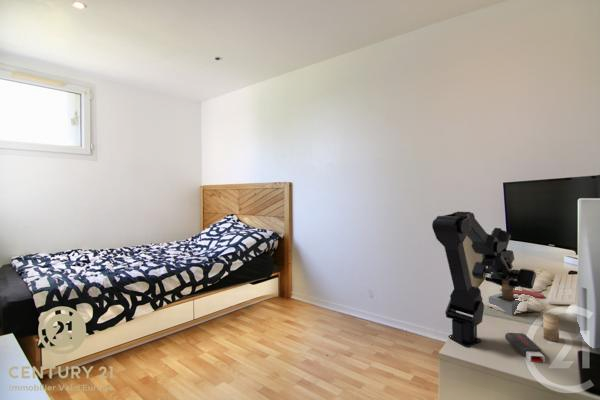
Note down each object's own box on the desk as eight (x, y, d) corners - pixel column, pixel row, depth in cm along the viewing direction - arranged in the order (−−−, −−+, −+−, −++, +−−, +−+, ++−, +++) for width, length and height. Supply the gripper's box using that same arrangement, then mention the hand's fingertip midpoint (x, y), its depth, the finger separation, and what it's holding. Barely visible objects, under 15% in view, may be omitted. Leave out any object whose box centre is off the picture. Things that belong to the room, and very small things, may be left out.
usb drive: (524, 340, 91) (524, 331, 91) (548, 363, 79) (548, 353, 79) (505, 339, 92) (504, 330, 92) (526, 362, 80) (525, 352, 80)
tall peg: (512, 307, 109) (511, 272, 109) (500, 305, 112) (500, 270, 111) (514, 304, 112) (514, 269, 111) (503, 302, 114) (502, 268, 114)
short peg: (553, 342, 88) (553, 319, 88) (540, 337, 91) (540, 314, 91) (562, 340, 89) (561, 316, 89) (548, 335, 93) (548, 312, 92)
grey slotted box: (511, 315, 107) (511, 304, 106) (488, 307, 114) (488, 296, 114) (527, 310, 110) (527, 299, 109) (504, 302, 118) (504, 292, 117)
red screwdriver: (500, 285, 132) (544, 293, 122) (500, 289, 132) (544, 297, 122) (497, 288, 129) (542, 296, 119) (497, 292, 129) (542, 300, 119)
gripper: (533, 247, 101) (545, 273, 108) (474, 240, 116) (487, 263, 123) (525, 275, 97) (538, 300, 104) (464, 265, 112) (479, 287, 119)
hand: (508, 286), depth 112 cm, fingers closed on tall peg, 3 cm apart
